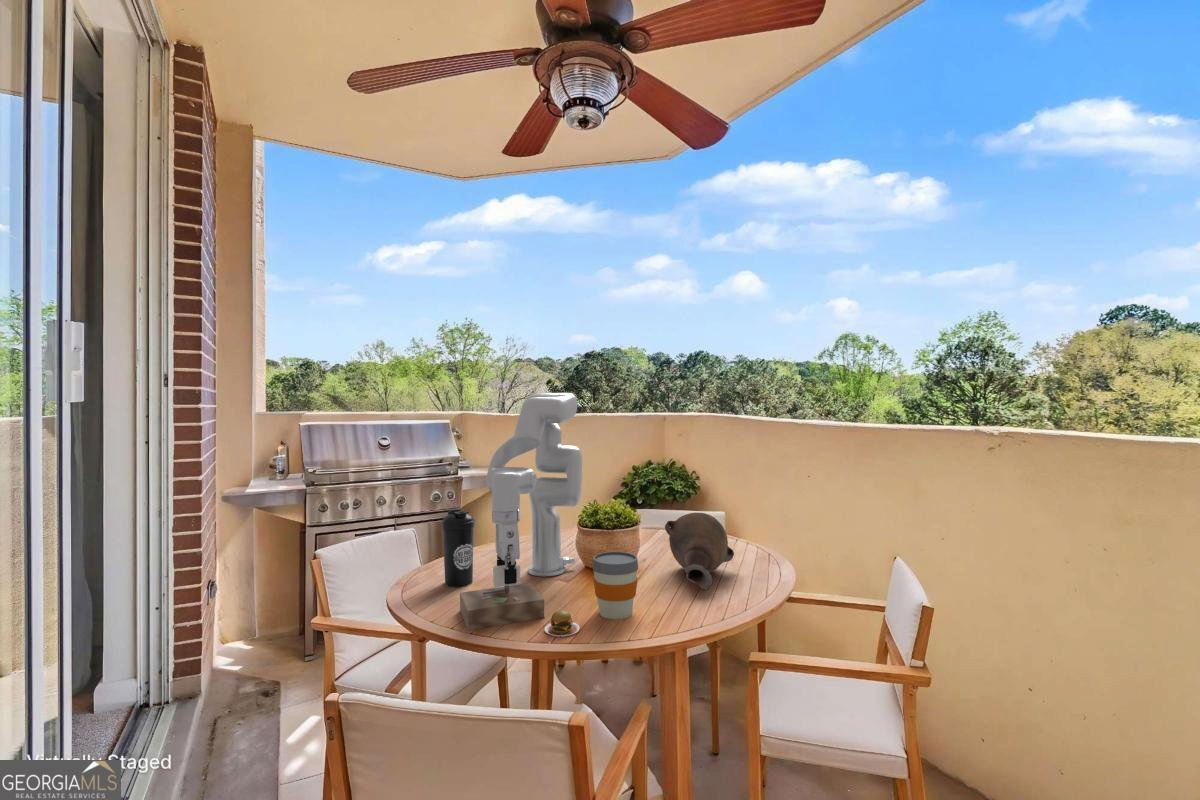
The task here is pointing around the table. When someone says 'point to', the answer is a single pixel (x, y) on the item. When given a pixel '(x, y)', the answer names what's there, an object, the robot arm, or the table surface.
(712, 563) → the jug
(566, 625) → the hamburger
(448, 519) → the water bottle
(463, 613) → the brown slab
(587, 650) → the table surface
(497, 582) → the peg
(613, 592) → the reusable coffee cup
